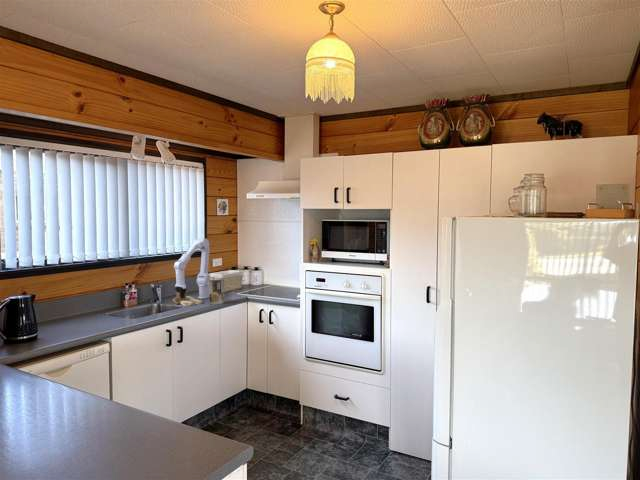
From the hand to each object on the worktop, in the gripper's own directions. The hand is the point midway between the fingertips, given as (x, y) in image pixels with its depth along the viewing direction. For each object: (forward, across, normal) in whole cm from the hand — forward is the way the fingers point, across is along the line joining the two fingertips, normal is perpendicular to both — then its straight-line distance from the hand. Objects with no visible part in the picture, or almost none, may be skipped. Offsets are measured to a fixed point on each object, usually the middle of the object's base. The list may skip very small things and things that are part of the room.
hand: (181, 297), depth 315 cm
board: (+4, +1, +4) cm, 6 cm away
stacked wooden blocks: (+4, 0, +1) cm, 4 cm away
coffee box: (+4, +19, +18) cm, 27 cm away
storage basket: (+4, -24, +47) cm, 53 cm away
